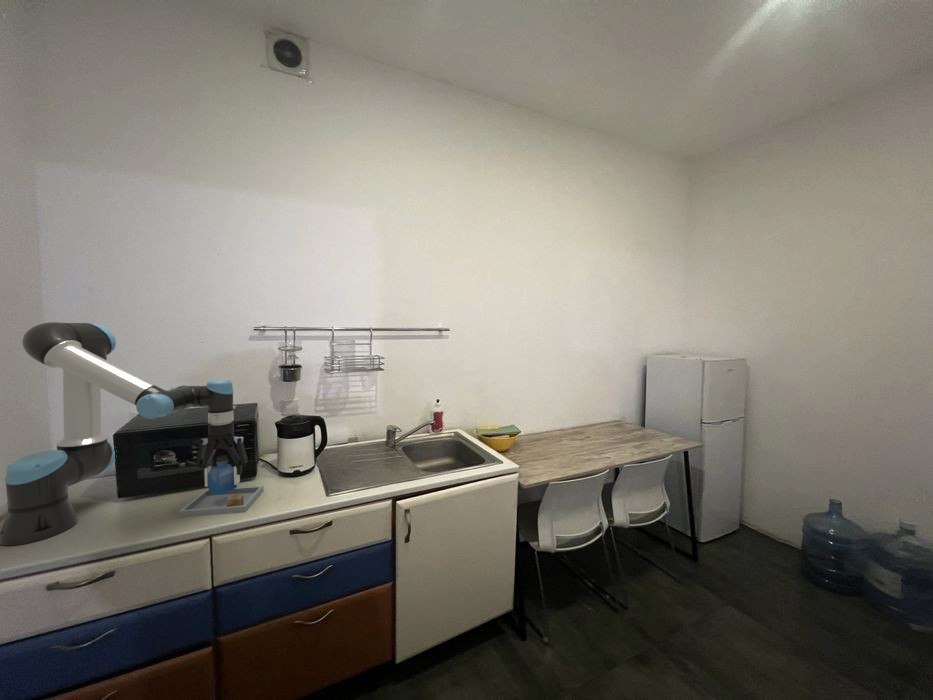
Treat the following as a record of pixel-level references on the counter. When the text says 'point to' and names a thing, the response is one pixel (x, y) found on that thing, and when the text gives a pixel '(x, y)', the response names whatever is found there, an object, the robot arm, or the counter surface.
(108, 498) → the counter surface
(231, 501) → the walnut block
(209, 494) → the tray
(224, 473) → the perfume bottle
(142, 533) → the counter surface
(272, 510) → the counter surface
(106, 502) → the counter surface
